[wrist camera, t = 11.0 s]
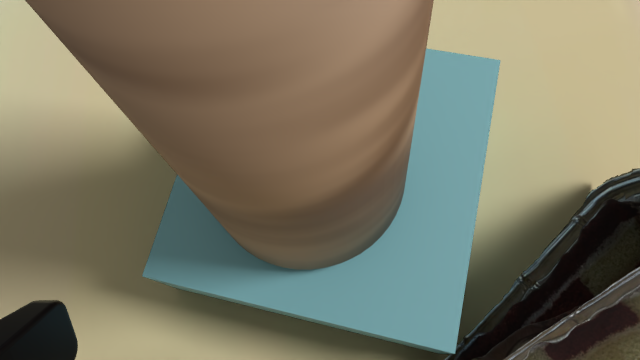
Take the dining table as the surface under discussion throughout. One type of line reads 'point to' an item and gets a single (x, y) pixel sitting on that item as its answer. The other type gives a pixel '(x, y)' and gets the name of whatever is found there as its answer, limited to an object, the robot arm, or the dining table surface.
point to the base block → (387, 252)
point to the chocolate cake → (574, 289)
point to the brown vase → (267, 108)
